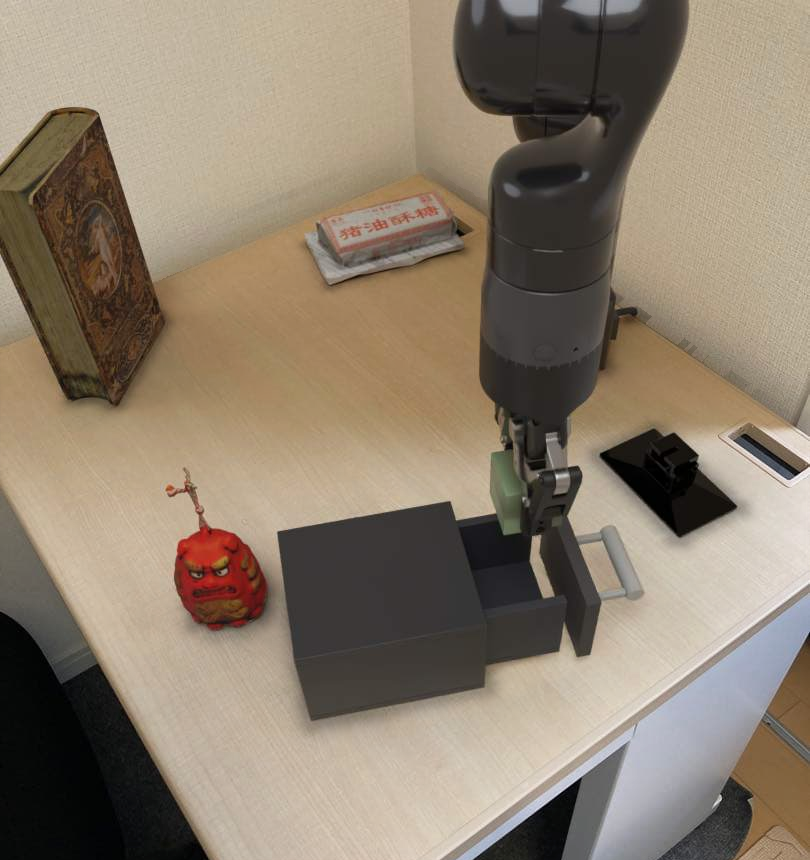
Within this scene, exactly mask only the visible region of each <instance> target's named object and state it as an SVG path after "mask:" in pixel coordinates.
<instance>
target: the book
mask: <svg viewBox="0 0 810 860" xmlns="http://www.w3.org/2000/svg"><path fill="white" fill-rule="evenodd" d="M143 252H144V251H143V249H142V246H141V242H140V239H139V236H138V232H137V230H136V226H135V223H134V220H133V217H132V214H131V211H130V207H129V204H128V201H127V198H126V195H125V192H124V188H123V186H122V182H121V178H120V176H119V172H118V169H117V166H116V164H115V160H114V157H113V153H112V150H111V148H110V144H109V141H108V137H107V134H106V132H105V128H104V125H103V122H102V119H101V115H100V113H99V112H98V111H97V110H95V109H92V108H88V107H82V106H69V107H61V108H56V109H52V110H50V111H48V112H46V113H45V115H44V116H43V117H42V118H41V119H40V120H39V121H38V123H37V124H36V125H35V126H34V127H33V129H31V131H30V132H28V134H27V135H26V136H25V137H24V138H23V140H22V141H21V142H20V143H18V145H17V146H16V147H15V148H14V150H13V151H11V153H10V154H9V155H8V156H7V158H6V159H4V161H3V162H2V163H1V164H0V257H1V259H2V261H3V264H4V266H5V268H6V270H7V272H8V274H9V277H10V279H11V281H12V283H13V285H14V288H15V290H16V293H17V294H18V296H19V299H20V301H21V303H22V305H23V308H24V310H25V312H26V314H27V317H28V318H29V321H30V323H31V326H32V327H33V330H34V332H35V335H36V336H37V339H38V341H39V342H40V345H41V347H42V349H43V352H44V354H45V356H46V358H47V360H48V363H49V364H50V367H51V369H52V371H53V374H54V376H55V378H56V380H57V383H58V385H59V388H60V389H61V391H62V393H63V394H64V396H65V398H66V399H67V400H70V401H74V400H76V399H81V398H84V397H97V398H102V399H105V400H107V401H108V402H109V404H111V405H115V406H117V405H118V404H119V403H120V401H121V400H122V398H123V396H124V395H125V394H126V391H127V390H128V388H129V386H130V384H131V383H132V381H133V379H134V378H135V376H136V374H137V372H138V371H139V369H140V367H141V365H142V363H143V362H144V360H145V359H146V357H147V355H148V353H149V351H150V349H151V348H152V346H153V344H154V343H155V341H156V339H157V337H158V335H159V334H160V332H161V330H162V329H163V327H164V325H165V323H166V322H165V321H166V320H165V318H164V315H163V312H162V308H161V306H160V302H159V299H158V296H157V292H156V290H155V286H154V283H153V280H152V277H151V274H150V270H149V268H148V264H147V262H146V258H145V255H144V253H143Z"/></svg>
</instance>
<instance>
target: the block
mask: <svg viewBox="0 0 810 860" xmlns="http://www.w3.org/2000/svg"><path fill="white" fill-rule="evenodd" d="M545 459H546V458H545ZM545 459H539V460H545ZM539 460H529V459H527V458H525V462H533V461H539ZM489 470H490V471H489V495H490V499H491V501H492V504H493V507H494V510H495V513H496V514H497V517H498V520H499V523H500V526H501V529H502V532H503V535H509V534H514V533H520V532H521V530H520V518H521V506H522V501H521V496H522V484H521V481H520V480H519V478H518V476H517V474H516V472H515V471H514V457H513V449H510V450H504V449H503V450H498V451H492V452H491V453H490V469H489ZM536 483H537V479H536V480H534V481H533V483H532V488H533V489H535V486H536ZM561 522H562V516H560V517H554V518H553V520H552V527H555V526H560V525H561Z"/></svg>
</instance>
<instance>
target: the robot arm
mask: <svg viewBox="0 0 810 860" xmlns="http://www.w3.org/2000/svg"><path fill="white" fill-rule="evenodd" d="M689 20H690V0H458V3H457V5H456V10H455V14H454V21H453V27H452V36H451V37H452V38H451V50H452V51H451V53H452V63H453V68H454V73H455V76H456V79H457V81H458V83H459V86H460V88H461V89H462V92H463V94H464V95H465V97H466V98H467V100H469V102H470V103H471V104H472V105H473V106H475V108H477V109H478V110H479V111H481V112H483V113H485V114H489V115H493V116H498V117H511V119H512V125H513V130H514V135H515V136H516V138H517V140H518V142H519V143H518V144H516V145H514V146H512V147H510V148H508V149H507V150H506V151H504V152H502V154H501V155H500V156H499V157H498V158H497V159H496V161H495V162H494V164H493V166H492V169H491V171H490V175H489V180H488V181H489V182H488V187H487V188H488V189H487V210H486V211H487V213H486V216H487V217H486V248H485V249H486V250H485V265H484V272H483V276H482V281H481V288H480V316H479V317H480V321H479V353H478V354H479V359H478V378H479V382H480V383H479V384H480V386H481V389H482V390H483V392H484V394H485V395H486V397H488V398H489V400H490V401H492V402H493V403H494V412H495V413H494V420H495V422H496V424H497V426H499V431H500V437H499V441H500V444H501V446H502V448H503V451H504V450H510V449H513V457H514V471H515V472H516V474H517V476H518V478H519V480H520V481H521V484H522V496H521V501H522V506H521V518H520V530H521V532H522V535H523V536H524V537H532V538H533V537H536V536H541V535H543V534H548V533H549V532H550V530H551V528H552V520H553V518H554V517H560V516H566V515H567V516H569V514H570V512H571V510H572V507H573V504H574V503H575V499H576V497H577V496H578V493H579V490H580V488H581V485H582V483H583V477H584V475H583V472H582V469H581V467H580V466H579V465H571V466H568V449H569V448H568V441H569V440H568V439H569V438H570V436H572V435H571V434H572V413H574V411H576V410H577V409H578V408H580V407H581V406H582V405H583V404H585V402H587V400H588V399H589V398H591V396H592V394H593V392H594V391H595V389H596V385H597V382H598V377H599V371H600V370H601V371H602V370H605V369H606V367H607V361H608V360H607V359H608V353H609V347H610V341H613V340H614V341H615V340H617V338H618V334H619V333H618V332H619V326H620V320H621V318H620V317H622V316H626V315H631V316H632V317H637V315H638V313H639V311H638V308H637V307H636V306H629V307H622V308H618V309H617V308H616V304H617V294H616V292H615V290H614V289H613V287H612V279H613V273H614V265H615V260H616V252H617V245H618V239H619V238H618V237H619V234H620V233H619V231H620V225H621V221H622V215H623V208H624V201H625V195H626V189H627V184H628V178H629V174H630V171H631V169H632V166H633V164H634V161H635V158H636V156H637V153H638V151H639V148H640V146H641V144H642V141H643V139H644V137H645V136H646V133H647V131H648V129H649V127H650V126H651V124H652V121H653V119H654V117H655V115H656V113H657V111H658V109H659V107H660V105H661V102H662V101H663V98H664V97H665V95H666V93H667V90H668V88H669V86H670V84H671V81H672V79H673V77H674V74H675V71H676V68H677V67H678V64H679V61H680V60H681V56H682V54H683V50H684V47H685V43H686V39H687V34H688V28H689V22H690V21H689ZM525 458H527V459H529V460H539V459H545V458H546V459H545V460H539V461H533V462H525ZM536 479H537V483H536V486H535V489H533V488H532V483H533V481H534V480H536Z"/></svg>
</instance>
